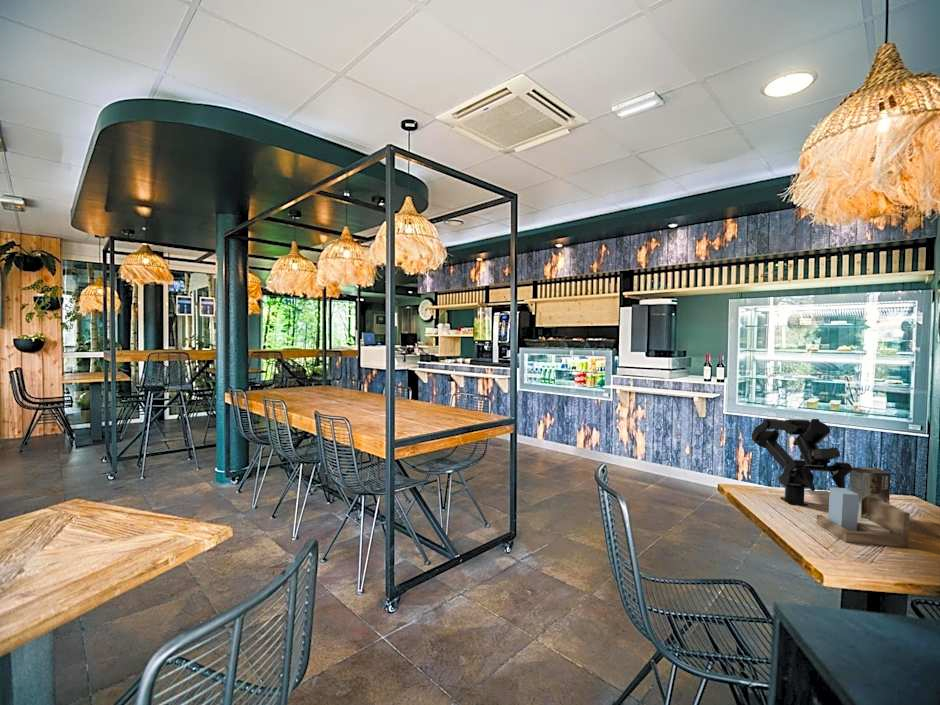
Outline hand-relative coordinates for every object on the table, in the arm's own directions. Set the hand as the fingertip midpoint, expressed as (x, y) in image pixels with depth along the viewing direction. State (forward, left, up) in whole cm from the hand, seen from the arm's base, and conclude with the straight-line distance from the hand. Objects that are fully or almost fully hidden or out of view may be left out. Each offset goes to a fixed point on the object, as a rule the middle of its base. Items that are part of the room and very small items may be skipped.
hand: (828, 491), depth 149 cm
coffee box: (-10, +19, -11) cm, 24 cm away
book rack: (+9, +4, -10) cm, 14 cm away
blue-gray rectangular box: (+7, 0, -9) cm, 12 cm away
